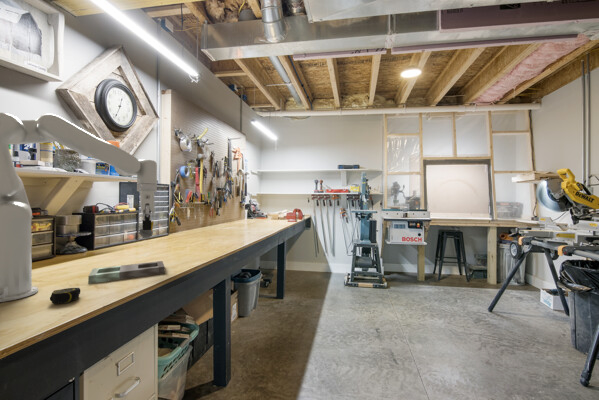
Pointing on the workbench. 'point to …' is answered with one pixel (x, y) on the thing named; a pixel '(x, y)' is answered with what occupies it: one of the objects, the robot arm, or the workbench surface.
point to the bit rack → (126, 272)
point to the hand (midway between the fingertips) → (146, 228)
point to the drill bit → (146, 232)
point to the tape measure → (65, 295)
